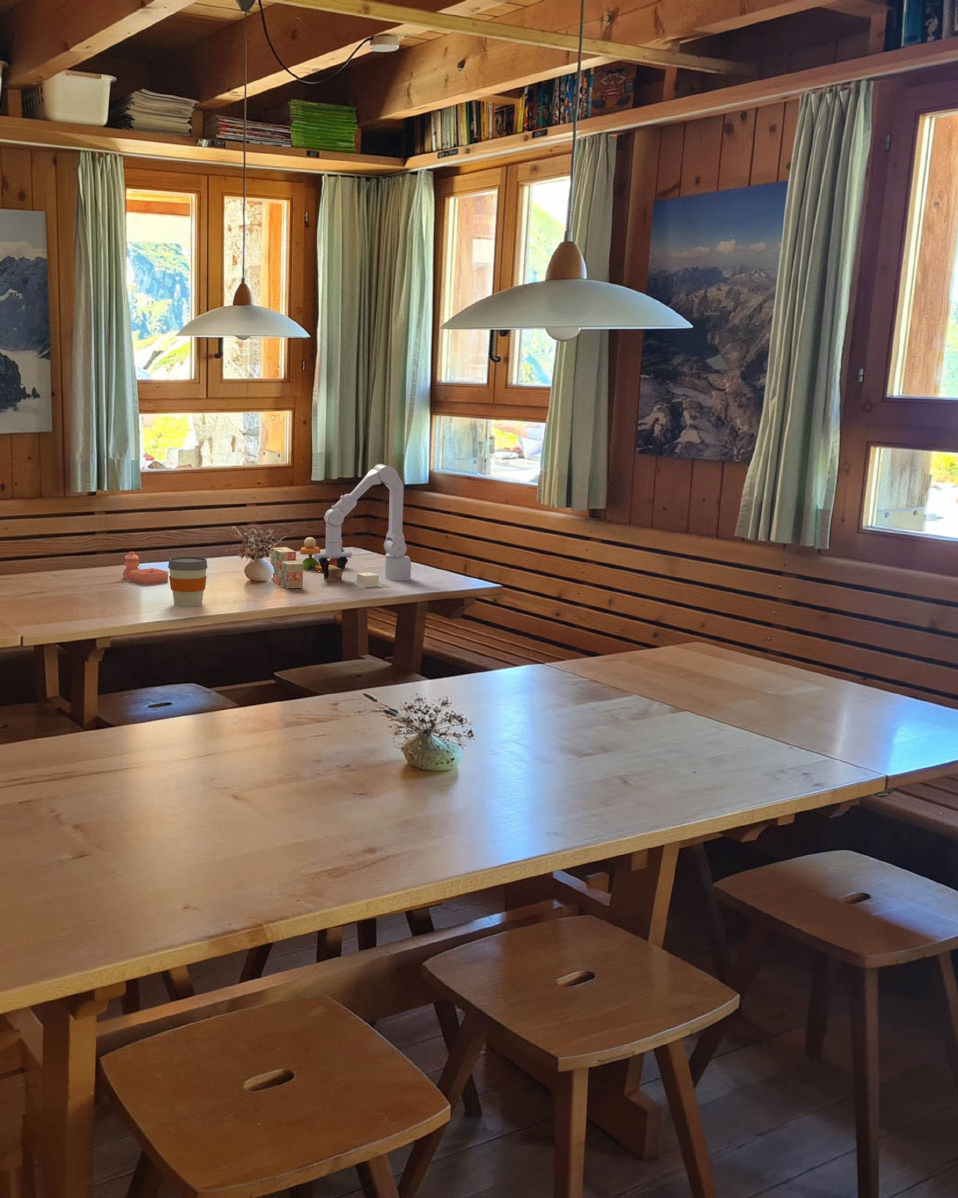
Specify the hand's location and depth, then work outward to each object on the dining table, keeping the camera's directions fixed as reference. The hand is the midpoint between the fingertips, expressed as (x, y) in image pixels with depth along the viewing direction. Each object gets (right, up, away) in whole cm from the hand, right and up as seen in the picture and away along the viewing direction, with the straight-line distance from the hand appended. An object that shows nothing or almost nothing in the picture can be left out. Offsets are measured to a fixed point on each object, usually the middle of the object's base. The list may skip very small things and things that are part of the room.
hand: (332, 577), depth 443 cm
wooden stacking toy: (-6, +4, +27) cm, 28 cm away
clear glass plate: (+14, -3, -6) cm, 15 cm away
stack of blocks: (-16, -3, -8) cm, 18 cm away
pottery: (-68, -2, -13) cm, 69 cm away
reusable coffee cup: (-42, -10, -51) cm, 67 cm away
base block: (+14, -3, -6) cm, 15 cm away
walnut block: (0, -1, 0) cm, 1 cm away
